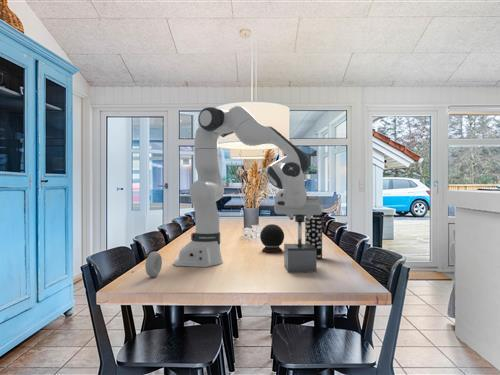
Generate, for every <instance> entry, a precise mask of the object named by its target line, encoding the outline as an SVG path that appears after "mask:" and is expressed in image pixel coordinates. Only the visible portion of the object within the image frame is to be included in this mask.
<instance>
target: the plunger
mask: <svg viewBox="0 0 500 375" xmlns="http://www.w3.org/2000/svg"><path fill="white" fill-rule="evenodd" d="M294 215H295V216H294V221H295V223H297V244H298V247H302V244H303V240H302V239H303V236H302V235H303V232H302V231H303V230H302V228H303V226H302V225H303V223H305V218H306V215H297V214H294Z"/></svg>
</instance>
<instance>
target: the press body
mask: <svg viewBox="0 0 500 375" xmlns="http://www.w3.org/2000/svg"><path fill="white" fill-rule="evenodd" d="M283 248H284V250H283V256H284V258H283V260H284V261H283V264H284V265H283V266H284V268H285V270H286V272H287V273H317V266H318V265H317V261H318V260H317V248H316V247H314V246H313V245H312V244H305V243H302V247H298V243H284V244H283Z"/></svg>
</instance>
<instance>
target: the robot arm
mask: <svg viewBox="0 0 500 375" xmlns="http://www.w3.org/2000/svg"><path fill="white" fill-rule="evenodd" d="M197 121H198V125H199V127H198V128H196V131H195V135H194V144H193V145H194V149H193V151H194V167H195V169H196V170H195V171H196V174H197V176H198V179H197V180H196V181H194V182H193V183H192V184H191V185H190V186H189V189H188V192H189V193H188V195H189V198H191V200H192V204H193V208H194V209H193V210H194V215H195V217H194V218H195V232H191V234H190V241H189V242H188V243H187V244H186V245H184V246H182V248H181V249H180V250H179V254H178V258H176V259H174V261H173V265H174V266H176V267H200V268H201V267H203V268H208V267H212V266H218V265H221V264H223V263H224V261H223V258H222V252H221V232H220V215H219V214H220V213H219V211H218V207H217V201H219V200H221V198H222V197H223V196H224V194H225V188H224V185H223V182H222V177H221V172H220V166H219V164H220V163H219V143H218V142H219V138H220V137H221V138H224V137H227V136H229V135H232V134H234V135H235V136H236V137H237V139H238V141H240V142H241V143H242V144H244V145H245V146H250V147H252V146H253V147H254V146H255V147H256V146H261V145H268V144H269V145H274V146H276V147H277V148H278V149H279V150H280V151H282V152H283V153H284V154H285V156H284V157H281V158H280V159H278V160H276V161H274V162H273V163H271V164H270V165H268V167H267V169H266V170H267V171H266V175H267V179H268V181H269V183H270V184H271V185H272V186H274V188H277V189H279V190H278V191H276V193H275V196H274V206H273V209H274V210H273V211H274V214H277V215H285V216H287V217H288V218H289V220H290V221H291V220H292V221H294V219H295V216H294V215H295V214H297V215H305V218H306V220H310V217H313V216H321V215H323V211H324V210H323V209H324V208H323V199H322V198H321V197H318V196H308V194H307V188H306V180H305V175H304V174H305V173H307V172H308V171H309V168H310V164H311V161H310V158H309V156H308V155H307V154H306V153H305V152H304V151H303V150H302V149H300V148H298V147H297V146H295V145H294V144H293V143H292V142H291V141H290V140H289V139H287V138H286V137H285V136H284V135H282V134H281V133H280V132H279V131H278V130H276V128H274V127H273V126H268V125H264V124H262V123H261V122H259V121H258V120H257V119H256V118H255V117H254V115H253V114H252V113H250V112H249V111H248V110H247V109H246V108H245V107H244V106H241V105H235V106H232V107H230V109H229V110H227V109H224V108H217V107H211V106H209V107H203V109H201V110H200V112H199V114H198V120H197Z"/></svg>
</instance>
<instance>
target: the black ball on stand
mask: <svg viewBox="0 0 500 375" xmlns="http://www.w3.org/2000/svg"><path fill="white" fill-rule="evenodd" d="M259 237H260V241H261V243H262V245H263V246H264V247H263V248H262V249H261V252H262V253H264V254H281V253H282V254H283V249H282V248H281V247H280V246H281V245H282V244H283V242H284V239H285V234H284V230H283V229H282V227H280V226H279V225H278V224H274V223H272V224H271V223H270V224H267V225H265V226H264V227H263V228H262V229H261V231H260V235H259Z"/></svg>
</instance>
